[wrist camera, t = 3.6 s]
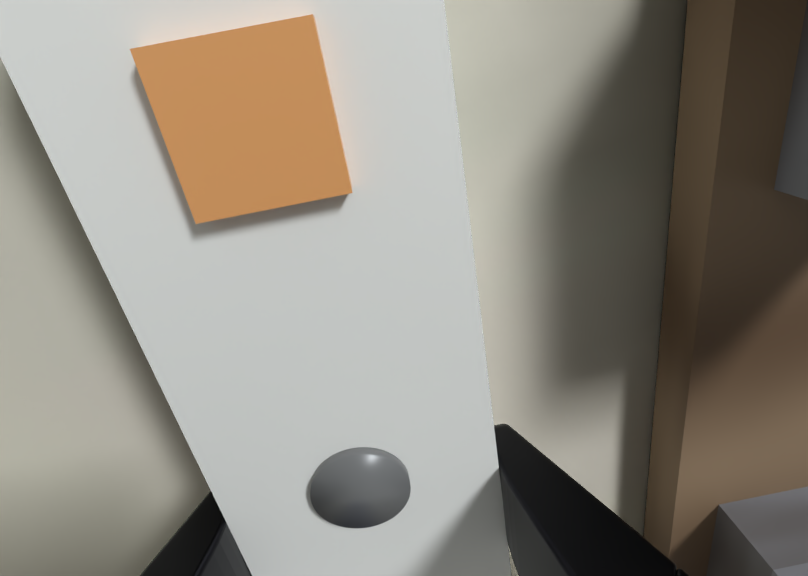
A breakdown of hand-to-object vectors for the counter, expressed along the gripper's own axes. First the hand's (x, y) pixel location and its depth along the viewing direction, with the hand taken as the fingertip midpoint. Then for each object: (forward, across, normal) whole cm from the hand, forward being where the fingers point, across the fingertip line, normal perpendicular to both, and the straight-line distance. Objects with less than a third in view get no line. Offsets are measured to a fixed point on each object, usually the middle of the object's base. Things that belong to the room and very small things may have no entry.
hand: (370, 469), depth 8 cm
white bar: (+2, 0, 0) cm, 2 cm away
